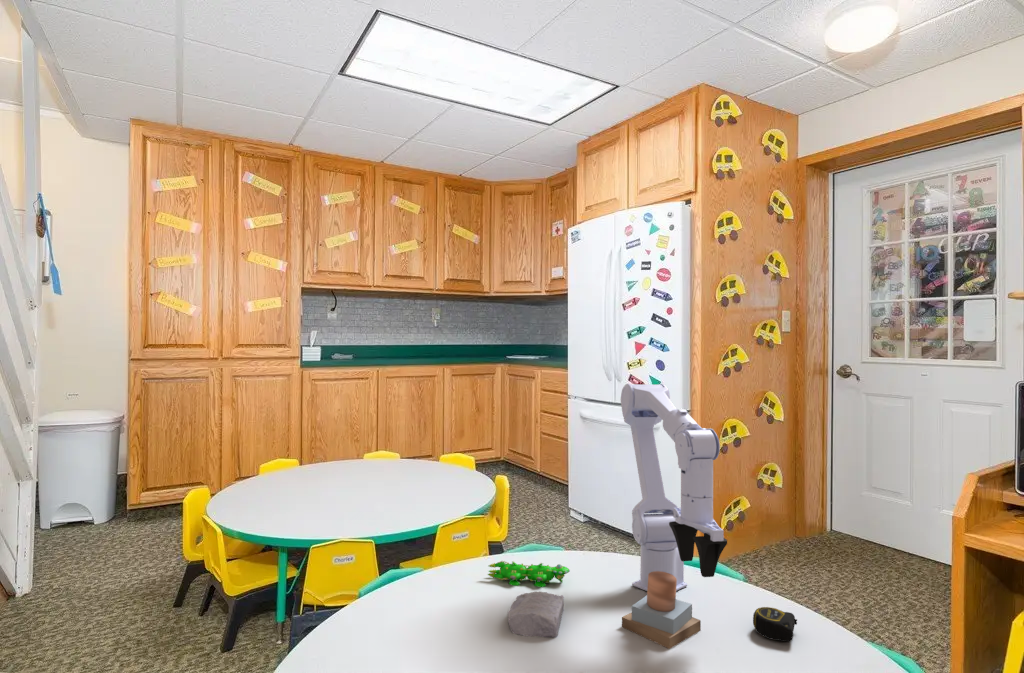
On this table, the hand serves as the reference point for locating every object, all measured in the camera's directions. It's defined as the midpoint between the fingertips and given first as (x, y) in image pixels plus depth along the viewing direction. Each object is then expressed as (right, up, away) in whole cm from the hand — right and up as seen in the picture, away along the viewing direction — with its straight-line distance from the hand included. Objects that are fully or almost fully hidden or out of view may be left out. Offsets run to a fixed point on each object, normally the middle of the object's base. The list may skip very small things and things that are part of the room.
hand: (696, 568), depth 103 cm
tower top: (-7, -9, -2) cm, 11 cm away
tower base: (-7, -11, -2) cm, 13 cm away
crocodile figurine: (-31, -11, +19) cm, 38 cm away
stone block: (-30, -11, +1) cm, 32 cm away
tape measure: (+14, -11, -3) cm, 18 cm away
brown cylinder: (-7, -6, -2) cm, 9 cm away
